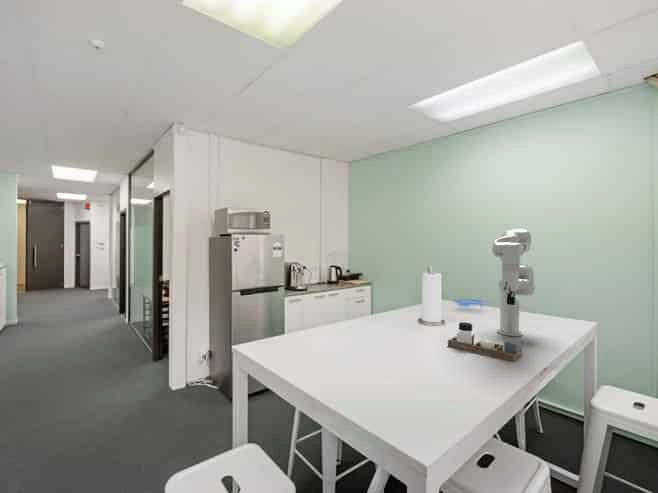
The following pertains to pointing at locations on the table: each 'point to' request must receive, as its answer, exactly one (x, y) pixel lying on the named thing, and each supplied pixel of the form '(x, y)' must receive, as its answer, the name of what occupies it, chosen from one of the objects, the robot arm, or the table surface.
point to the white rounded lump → (487, 344)
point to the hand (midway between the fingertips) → (510, 304)
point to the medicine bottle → (465, 333)
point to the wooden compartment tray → (484, 350)
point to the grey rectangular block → (512, 346)
